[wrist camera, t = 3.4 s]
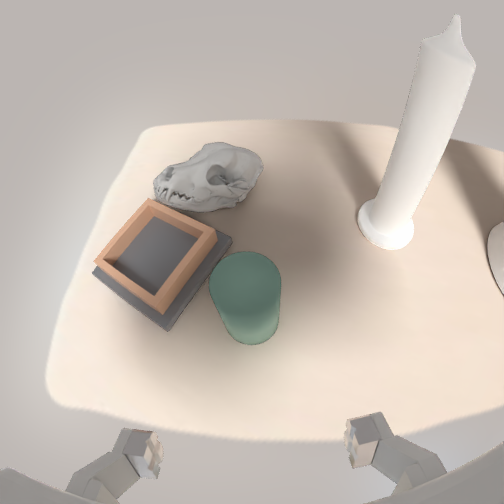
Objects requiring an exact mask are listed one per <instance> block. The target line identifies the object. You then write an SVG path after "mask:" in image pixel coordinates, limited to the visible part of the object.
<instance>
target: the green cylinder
mask: <svg viewBox="0 0 504 504" xmlns="http://www.w3.org/2000/svg"><path fill="white" fill-rule="evenodd" d="M209 291H210V295H211V297H212V299H213V302H214V304H215V306H216V308H217V310H218V312H219V314H220V316H221V318H222V320H223V322H224V324H225V326H226V328H227V330H228V332H229V334H230V335H231V336H232V337H233V338H234V339H235V340H236V341H238V342H240V343H243V344H247V345H256V344H260V343H263V342H265V341H267V340H268V339H269V338H271V337H272V335H273V334H274V333H275V331H276V329H277V326H278V322H279V308H280V293H281V277H280V273H279V271H278V269H277V267H276V266H275V264H274V263H273V262H272V261H271V260H270V259H268V258H267V257H265V256H263V255H261V254H259V253H255V252H238V253H234V254H231V255H229V256H227V257H225V258H224V259H223V260H221V261H220V262H219V263H218V264H217V265H216V266H215V268H214V269H213V271H212V273H211V276H210V280H209Z"/></svg>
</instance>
